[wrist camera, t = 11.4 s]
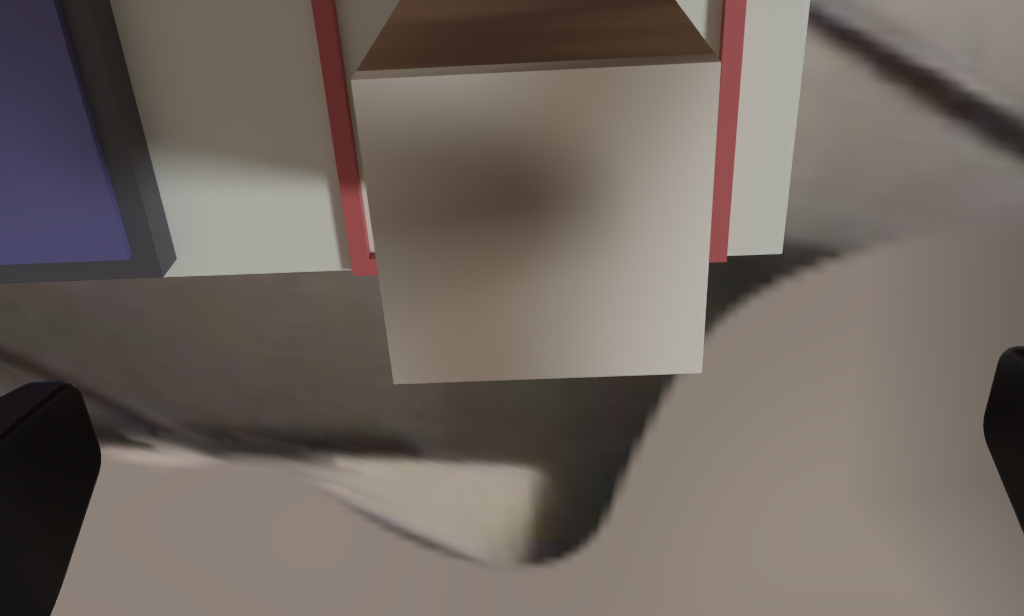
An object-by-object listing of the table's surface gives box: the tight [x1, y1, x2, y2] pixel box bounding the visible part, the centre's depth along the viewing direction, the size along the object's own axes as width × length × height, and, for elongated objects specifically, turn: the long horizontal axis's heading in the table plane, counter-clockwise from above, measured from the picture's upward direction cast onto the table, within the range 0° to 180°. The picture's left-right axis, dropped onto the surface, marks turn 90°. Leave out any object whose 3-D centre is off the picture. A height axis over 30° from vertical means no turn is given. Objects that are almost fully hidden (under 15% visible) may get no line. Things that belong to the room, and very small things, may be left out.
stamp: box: [351, 0, 721, 384], centre depth 15 cm, size 4×4×7 cm
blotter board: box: [0, 0, 810, 283], centre depth 18 cm, size 22×8×2 cm, turn 93°
